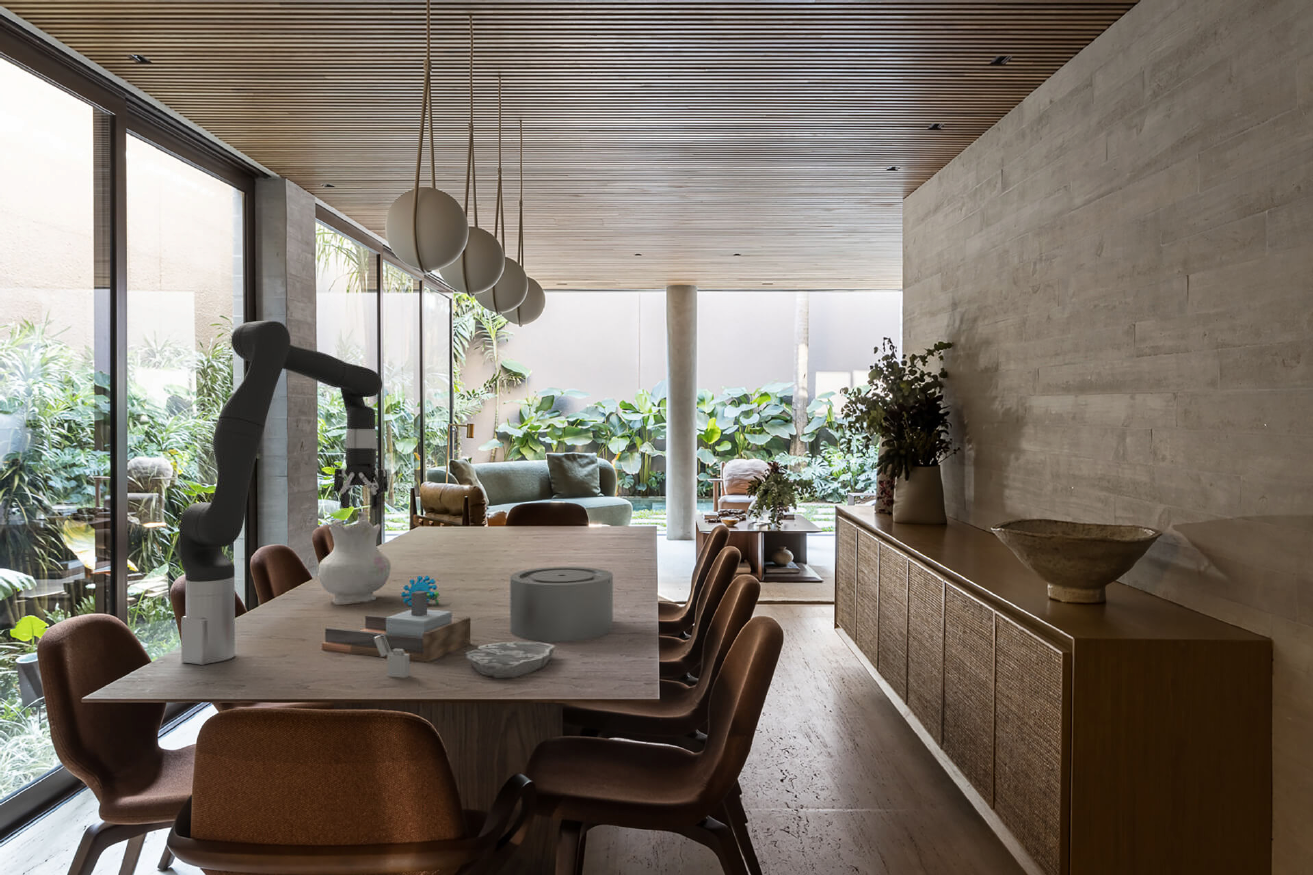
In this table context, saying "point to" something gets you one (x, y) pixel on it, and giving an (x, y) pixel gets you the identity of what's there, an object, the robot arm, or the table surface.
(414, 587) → the blue spiky round piece
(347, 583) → the white scalloped vase
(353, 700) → the table surface
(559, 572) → the container
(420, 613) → the block with peg
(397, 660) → the lighter
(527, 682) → the table surface
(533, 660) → the grey flat stone
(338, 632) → the bay
